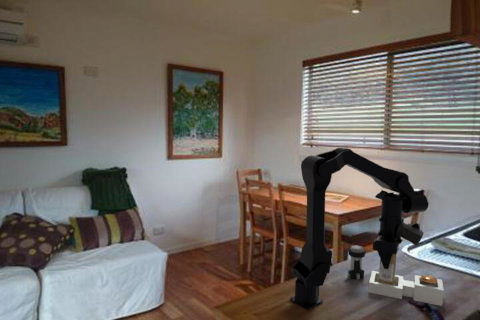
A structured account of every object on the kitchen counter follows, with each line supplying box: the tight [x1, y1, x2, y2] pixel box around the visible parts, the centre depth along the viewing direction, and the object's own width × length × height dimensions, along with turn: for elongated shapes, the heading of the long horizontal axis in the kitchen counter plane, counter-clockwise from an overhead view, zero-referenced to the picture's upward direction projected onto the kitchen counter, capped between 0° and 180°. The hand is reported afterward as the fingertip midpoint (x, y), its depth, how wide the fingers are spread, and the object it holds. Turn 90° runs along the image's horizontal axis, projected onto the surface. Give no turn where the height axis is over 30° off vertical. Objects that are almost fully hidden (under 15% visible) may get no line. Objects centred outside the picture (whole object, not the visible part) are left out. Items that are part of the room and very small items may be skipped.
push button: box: [343, 244, 367, 281], centre depth 115 cm, size 7×5×10 cm
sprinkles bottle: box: [378, 254, 397, 285], centre depth 108 cm, size 5×5×13 cm
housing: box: [368, 270, 445, 307], centre depth 107 cm, size 19×9×4 cm, turn 65°
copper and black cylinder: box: [420, 274, 438, 287], centre depth 104 cm, size 4×4×6 cm
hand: (387, 265), depth 108 cm, fingers closed on sprinkles bottle, 4 cm apart
